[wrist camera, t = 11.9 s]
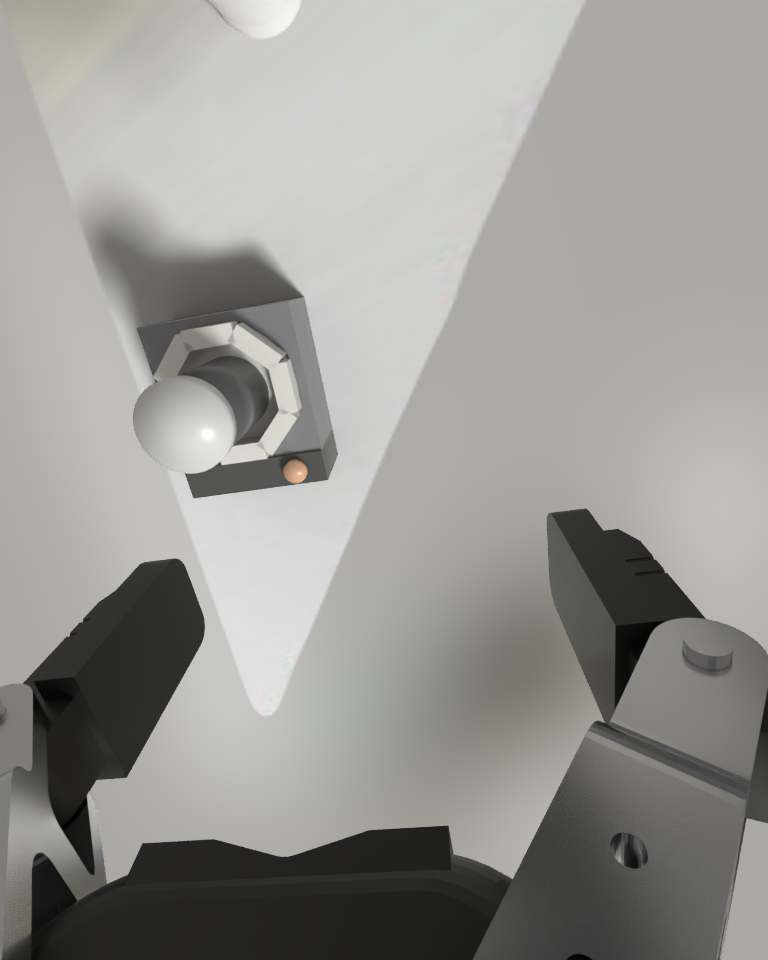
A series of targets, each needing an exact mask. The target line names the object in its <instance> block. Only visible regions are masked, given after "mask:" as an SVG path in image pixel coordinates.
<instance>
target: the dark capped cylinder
mask: <svg viewBox="0 0 768 960" xmlns="http://www.w3.org/2000/svg"><path fill="white" fill-rule="evenodd" d="M268 403H269V390H268V386H267V383H266V381H265V379H264V377H263V375H262V374H261V372H260V371H259V370H258V369H257V368H256V367H255V366H254V365H253V364H251V363H250V362H248V361H246V360H244V359H242V358H239V357H235V356H222V357H218V358H215V359H213V360H211V361H208V362H206V363H204V364H202V365H200V366H197V367H195V368H193V369H191V370H188V371H186V372H184V373H182V374H180V375H177V376H173V377H169V378H166V379H164V380H161V381H159V382H157V383H154V384H153V385H151V386H149V387H148V388H147V389H146V390H144V392H143V393H142V394H141V395H140V397H139V398H138V400H137V402H136V404H135V408H134V413H133V424H134V430H135V433H136V436H137V438H138V441H139V442H140V444H141V446H142V447H143V449H144V450H145V451H146V453H147V454H148V455H149V456H150V457H151V458H152V459H153V460H155V461H156V462H157V463H159V464H160V465H162V466H164V467H165V468H167V469H170V470H172V471H176V472H179V473H187V474H193V473H200V472H204V471H207V470H209V469H211V468H213V467H214V466H215V465H217V464H218V463H219V462H220V461H221V460H222V459H223V458H224V457H225V456H226V455H227V454H228V453H229V451H230V450H231V448H232V446H233V445H234V444H235V443H236V442H237V441H238V440H239V439H240V438H241V437H242V436H243V435H244V434H245V433H246V432H247V431H248V430H249V429H250V428H251V427H252V426H253V425H255V424H256V423H257V422H258V421H259V420H260V419H261V418H262V416H263V415H264V413H265V412H266V409H267V407H268Z"/></svg>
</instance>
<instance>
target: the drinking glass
mask: <svg viewBox="0 0 768 960" xmlns="http://www.w3.org/2000/svg"><path fill="white" fill-rule="evenodd" d="M209 1H210V2H211V3H212V4H213V5H214V6H215V7H216V8H217V10H218V11H219V12H220V14H221V15H222V16H223V17H224V19H225V20H226V21H227V22H228V23H229V24H230V25H231V26H232V27H233V28H234V29H235V30H236V31H238V32H239V33H241V34H243V35H245V36H247V37H250V38H253V39H269V38H272V37H275V36H277V35H279V34H280V33H282V32H283V31H284V30H286V29H287V28H288V27H289V25H290V24H291V23H292V22H293V20H294V18H295V17H296V15H297V13H298V10H299V7H300V4H301V0H209Z"/></svg>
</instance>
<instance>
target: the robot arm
mask: <svg viewBox="0 0 768 960" xmlns="http://www.w3.org/2000/svg"><path fill="white" fill-rule="evenodd" d="M547 535H548V558H549V577H550V586H551V592H552V597H553V600H554V604H555V607H556V609H557V612H558V614H559V616H560V619H561V621H562V623H563V626H564V628H565V630H566V633H567V635H568V637H569V640H570V642H571V644H572V647H573V649H574V651H575V654H576V656H577V658H578V661H579V663H580V665H581V668H582V670H583V672H584V675H585V677H586V679H587V682H588V684H589V686H590V688H591V690H592V693H593V696H594V698H595V700H596V702H597V705H598V707H599V710H600V712H601V714H602V717H603V719H604V721H605V723H603V722H601V721H596V722H594V723H593V724H592V725H591V726H590V728H589V729H588V731H587V733H586V735H585V737H584V739H583V741H582V743H581V745H580V747H579V748H578V750H577V752H576V754H575V757H574V759H573V761H572V763H571V764H570V766H569V768H568V770H567V772H566V774H565V776H564V778H563V780H562V783H561V784H560V786H559V788H558V790H557V792H556V795H555V797H554V798H553V800H552V802H551V804H550V806H549V808H548V810H547V812H546V815H545V816H544V818H543V820H542V822H541V824H540V826H539V828H538V830H537V832H536V834H535V836H534V838H533V840H532V842H531V844H530V846H529V848H528V850H527V852H526V854H525V856H524V858H523V860H522V862H521V864H520V867H519V868H518V870H517V872H516V874H515V876H514V878H513V879H511V878H510V877H508V876H506V875H504V874H503V873H501V872H499V871H497V870H495V869H494V868H491V867H490V866H487V865H485V864H482V863H479V862H477V861H474V860H472V859H469V858H465V857H461V856H458V855H454V854H453V850H452V844H451V838H450V833H449V827H448V826H435V827H418V828H401V829H385V830H384V829H383V830H369V831H366V832H363V833H360V834H357V835H354V836H351V837H348V838H345V839H342V840H339V841H336V842H333V843H330V844H327V845H324V846H321V847H318V848H315V849H312V850H309V851H306V852H303V853H300V854H297V855H294V856H290V857H278V856H274V855H270V854H267V853H263V852H259V851H256V850H252V849H248V848H244V847H240V846H237V845H233V844H229V843H226V842H222V841H218V840H214V839H212V840H197V841H196V840H195V841H178V842H161V843H143V844H142V846H141V848H140V850H139V852H138V855H137V857H136V859H135V861H134V863H133V865H132V867H131V870H130V872H129V874H128V875H127V876H124V877H122V878H120V879H117V880H115V881H113V882H111V883H109V884H107V880H106V873H105V866H104V858H103V850H102V842H101V835H100V828H99V820H98V813H97V805H96V801H95V799H94V797H93V796H92V794H91V792H90V790H91V788H92V786H93V785H94V783H95V781H96V780H101V779H114V778H126V777H127V776H128V774H129V772H130V771H131V769H132V767H133V765H134V763H135V761H136V760H137V758H138V756H139V754H140V753H141V751H142V749H143V747H144V745H145V744H146V742H147V740H148V738H149V737H150V735H151V733H152V731H153V729H154V728H155V726H156V724H157V722H158V720H159V719H160V717H161V715H162V713H163V711H164V710H165V708H166V706H167V704H168V702H169V701H170V699H171V697H172V695H173V694H174V691H175V690H176V688H177V686H178V685H179V683H180V681H181V679H182V677H183V676H184V674H185V672H186V670H187V668H188V667H189V665H190V663H191V661H192V660H193V658H194V656H195V654H196V652H197V651H198V649H199V647H200V645H201V643H202V640H203V637H204V631H205V630H204V629H205V624H204V617H203V613H202V611H201V608H200V605H199V602H198V600H197V597H196V594H195V592H194V589H193V586H192V583H191V581H190V578H189V576H188V573H187V570H186V568H185V565H184V564H183V563H182V561H180V560H179V559H167V560H159V561H151V562H144V563H141V564H140V565H139V566H138V567H137V568H136V569H135V570H134V571H133V572H132V574H131V575H130V576H129V577H128V578H127V579H126V580H125V581H124V582H123V584H121V586H120V587H119V588H118V589H117V590H116V591H114V592H113V593H112V594H110V595H109V596H107V597H106V598H104V599H103V600H102V601H100V602H99V603H98V604H97V605H96V606H95V607H94V608H93V609H92V610H91V611H90V612H89V613H88V614H87V616H86V617H85V618H84V619H83V622H82V623H79V624H78V625H77V626H76V627H75V628H74V629H73V630H72V632H71V633H70V637H66V638H65V639H64V640H63V641H62V642H61V643H60V644H59V646H58V647H57V648H56V649H55V650H54V651H53V652H52V653H51V654H50V655H49V656H48V657H47V658H46V659H45V660H44V662H43V663H42V664H41V665H40V666H39V667H38V668H37V669H36V670H35V671H34V672H33V673H32V674H31V675H30V677H29V678H28V679H27V680H26V681H25V682H24V683H23V684H10V685H6V686H2V687H0V960H721V958H722V953H723V947H724V941H725V935H726V930H727V924H728V919H729V913H730V908H731V902H732V896H733V891H734V885H735V880H736V874H737V869H738V863H739V857H740V852H741V846H742V841H743V835H744V830H745V824H746V819H747V818H749V819H753V820H757V821H761V822H765V823H768V654H767V653H766V651H765V650H764V649H763V647H762V646H761V645H760V644H759V643H758V642H757V641H755V640H754V639H753V638H752V637H750V636H749V635H747V634H746V633H744V632H742V631H740V630H738V629H736V628H734V627H732V626H729V625H727V624H723V623H720V622H717V621H712V620H708V619H705V617H704V616H703V615H702V614H701V612H700V611H699V610H698V609H697V608H696V607H695V605H694V604H693V603H692V602H691V601H690V600H689V598H688V597H687V596H686V595H685V594H684V592H683V591H682V590H681V589H680V588H679V586H678V585H677V584H676V583H675V582H674V581H673V580H672V578H671V577H670V576H669V575H668V573H665V572H664V569H663V567H662V566H661V565H660V564H659V563H658V562H657V561H656V560H654V559H653V556H652V554H651V553H650V552H649V551H648V550H647V549H646V547H645V546H644V545H643V544H642V543H641V541H639V540H637V539H636V538H634V537H632V536H630V535H628V534H626V533H624V532H623V531H621V530H619V529H614V530H606V531H603V530H602V528H601V527H600V526H599V524H598V523H597V522H596V521H595V519H594V517H593V516H592V515H591V513H590V512H589V511H588V510H587V509H578V510H570V511H562V512H554V513H549V514H548V516H547Z"/></svg>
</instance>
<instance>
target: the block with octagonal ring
mask: <svg viewBox="0 0 768 960" xmlns="http://www.w3.org/2000/svg"><path fill="white" fill-rule="evenodd" d="M137 330H138V333H139V336H140V339H141V342H142V345H143V348H144V351H145V353H146V356H147V359H148V362H149V365H150V368H151V371H152V374H153V378H154V380H155V383H157V382H159V381H161V380H164V379H166V378H169V377H173V376H177V375H180V374H182V373H184V372H186V371H188V370H191V369H193V368H195V367H197V366H200V365H202V364H204V363H206V362H208V361H211V360H213V359H215V358H218V357H222V356H235V357H239V358H242V359H244V360H246V361H248V362H250V363H251V364H253V365H254V366H255V367H256V368H257V369H258V370H259V371H260V372H261V374H262V375H263V377H264V379H265V381H266V383H267V386H268V390H269V403H268V407H267V409H266V412H265V413H264V415H263V416H262V418H261V419H260V420H259V421H258V422H257V423H256V424H255V425H253V426H252V427H251V428H250V429H249V430H248V431H247V432H246V433H245V434H244V435H243V436H242V437H241V438H240V439H239V440H238V441H237V442H236V443H235V444H234V445H233V446H232V448H231V450H230V451H229V453H228V454H227V455H226V456H225V457H224V458H223V459H222V460H221V461H220V462H219V463H218V464H217V465H215V466H214V467H213V468H211V469H209V470H207V471H204V472H200V473H193V474H187V473H185V475H186V478H187V481H188V484H189V487H190V489H191V492H192V495H193V498H200V497H207V496H214V495H221V494H229V493H236V492H243V491H251V490H258V489H265V488H273V487H280V486H287V485H294V484H302V483H309V482H316V481H324V480H328V478H329V476H330V473H331V471H332V468H333V466H334V463H335V460H336V458H337V455H338V453H337V449H336V444H335V439H334V435H333V430H332V425H331V421H330V416H329V411H328V407H327V402H326V397H325V393H324V388H323V383H322V379H321V374H320V369H319V365H318V360H317V355H316V351H315V346H314V341H313V337H312V332H311V327H310V323H309V318H308V313H307V309H306V304H305V299H304V297H300V298H295V299H289V300H283V301H278V302H272V303H267V304H261V305H255V306H250V307H244V308H239V309H233V310H228V311H222V312H216V313H211V314H205V315H200V316H194V317H188V318H183V319H177V320H172V321H167V322H162V323H158V324H153V325H148V326H144V327H139V328H137Z"/></svg>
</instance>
